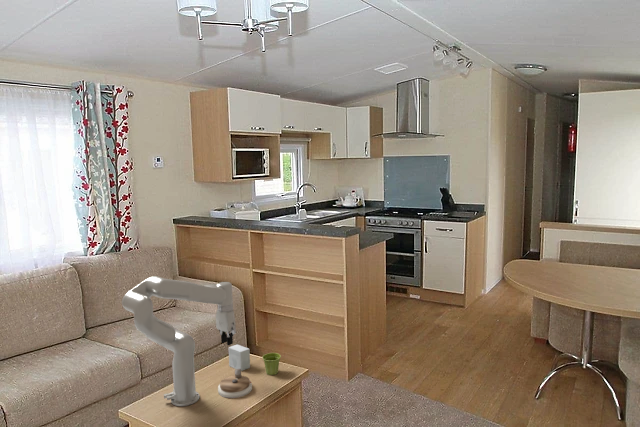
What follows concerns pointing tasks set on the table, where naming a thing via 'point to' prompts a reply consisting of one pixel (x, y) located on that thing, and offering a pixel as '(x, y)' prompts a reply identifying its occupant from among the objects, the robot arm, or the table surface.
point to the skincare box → (239, 357)
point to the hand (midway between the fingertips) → (227, 343)
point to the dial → (235, 382)
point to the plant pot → (271, 363)
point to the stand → (235, 394)
